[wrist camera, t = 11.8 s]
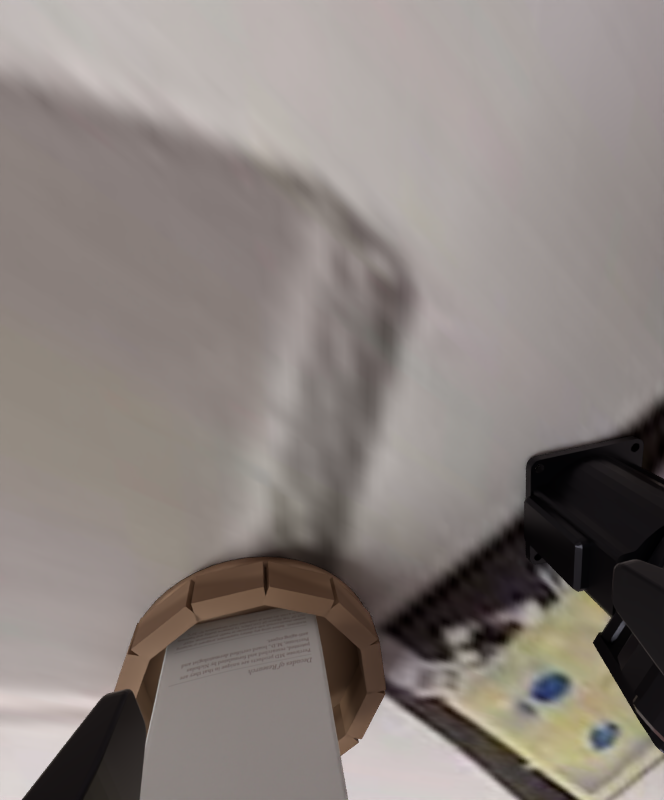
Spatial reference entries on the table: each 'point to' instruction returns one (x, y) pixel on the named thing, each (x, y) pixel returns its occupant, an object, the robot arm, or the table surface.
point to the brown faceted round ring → (259, 591)
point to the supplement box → (244, 714)
